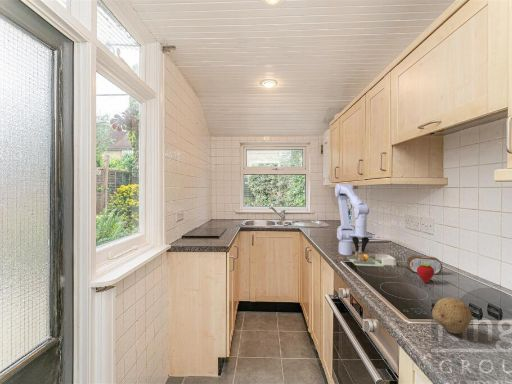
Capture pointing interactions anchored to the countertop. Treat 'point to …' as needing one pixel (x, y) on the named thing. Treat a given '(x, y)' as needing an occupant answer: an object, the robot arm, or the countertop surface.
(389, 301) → the countertop surface
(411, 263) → the tin
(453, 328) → the brown lumpy oval
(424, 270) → the strawberry
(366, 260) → the ball
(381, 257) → the pitch
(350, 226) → the robot arm
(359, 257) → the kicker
